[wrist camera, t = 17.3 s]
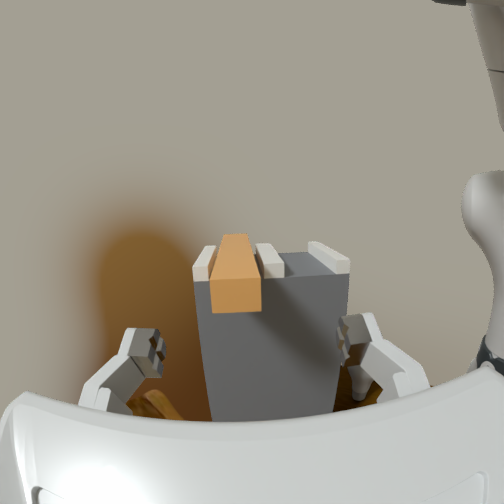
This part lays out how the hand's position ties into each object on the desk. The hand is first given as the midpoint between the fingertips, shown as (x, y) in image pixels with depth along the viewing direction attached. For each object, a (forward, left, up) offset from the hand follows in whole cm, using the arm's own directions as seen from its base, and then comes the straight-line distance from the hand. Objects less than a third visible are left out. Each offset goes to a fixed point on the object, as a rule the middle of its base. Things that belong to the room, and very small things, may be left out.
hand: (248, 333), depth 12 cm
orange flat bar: (+1, -19, -2) cm, 19 cm away
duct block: (-3, -21, -28) cm, 36 cm away
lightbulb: (-19, -23, -28) cm, 41 cm away
